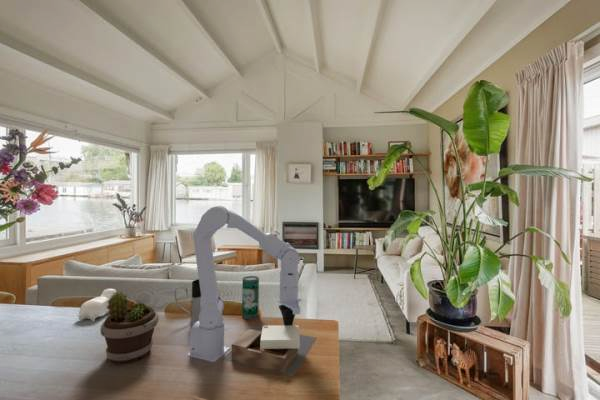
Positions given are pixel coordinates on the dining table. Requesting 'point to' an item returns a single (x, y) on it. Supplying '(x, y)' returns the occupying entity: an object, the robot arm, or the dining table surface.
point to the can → (250, 297)
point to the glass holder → (193, 301)
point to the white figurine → (96, 306)
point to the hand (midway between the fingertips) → (288, 328)
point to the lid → (280, 337)
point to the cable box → (261, 353)
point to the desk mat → (304, 348)
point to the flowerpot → (128, 329)
